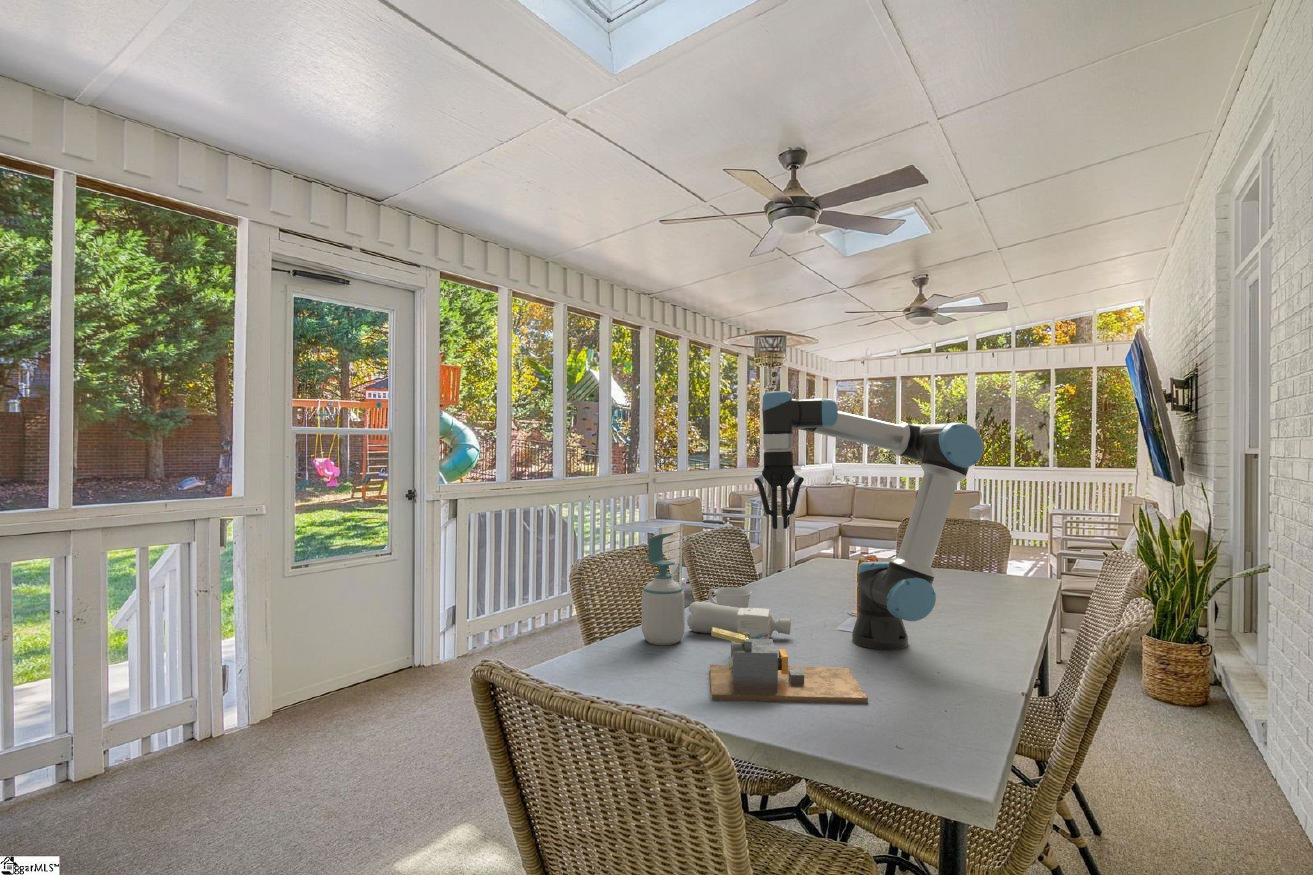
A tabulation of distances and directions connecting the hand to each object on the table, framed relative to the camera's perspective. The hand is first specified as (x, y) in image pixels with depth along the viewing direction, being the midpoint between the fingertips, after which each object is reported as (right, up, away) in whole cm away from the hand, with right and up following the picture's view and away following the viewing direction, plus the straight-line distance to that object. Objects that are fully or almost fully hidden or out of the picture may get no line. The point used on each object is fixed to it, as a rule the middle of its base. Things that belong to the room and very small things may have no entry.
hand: (780, 541), depth 173 cm
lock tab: (-15, -20, -16) cm, 30 cm away
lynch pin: (-8, -28, -16) cm, 33 cm away
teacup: (-9, -32, +40) cm, 52 cm away
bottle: (-8, -32, +25) cm, 41 cm away
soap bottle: (-30, -32, +19) cm, 48 cm away
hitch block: (-2, -31, -17) cm, 36 cm away
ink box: (-6, -32, +6) cm, 33 cm away
